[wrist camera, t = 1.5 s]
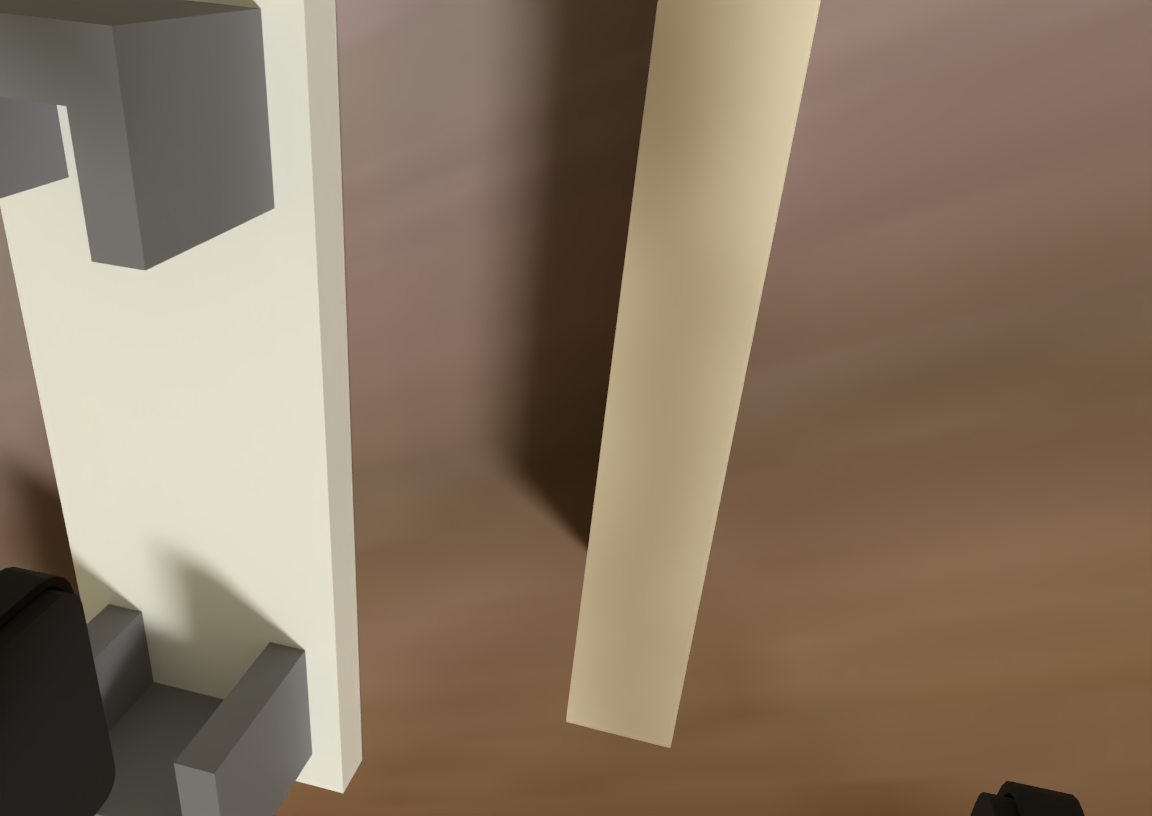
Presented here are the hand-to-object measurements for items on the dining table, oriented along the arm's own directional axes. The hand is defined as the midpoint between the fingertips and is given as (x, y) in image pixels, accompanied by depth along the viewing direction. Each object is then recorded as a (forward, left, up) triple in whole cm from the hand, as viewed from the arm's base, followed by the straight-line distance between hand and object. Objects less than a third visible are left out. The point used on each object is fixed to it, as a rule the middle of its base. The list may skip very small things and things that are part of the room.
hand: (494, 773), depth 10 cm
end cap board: (+13, +6, -15) cm, 21 cm away
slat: (-1, 0, -16) cm, 16 cm away
